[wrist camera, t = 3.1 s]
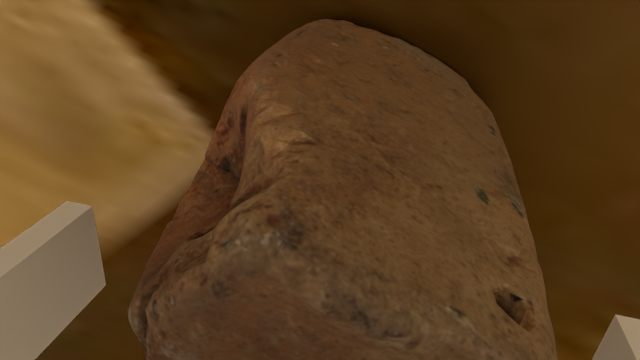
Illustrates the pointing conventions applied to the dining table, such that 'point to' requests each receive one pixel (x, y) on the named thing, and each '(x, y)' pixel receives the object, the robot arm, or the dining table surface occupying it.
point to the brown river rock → (348, 218)
